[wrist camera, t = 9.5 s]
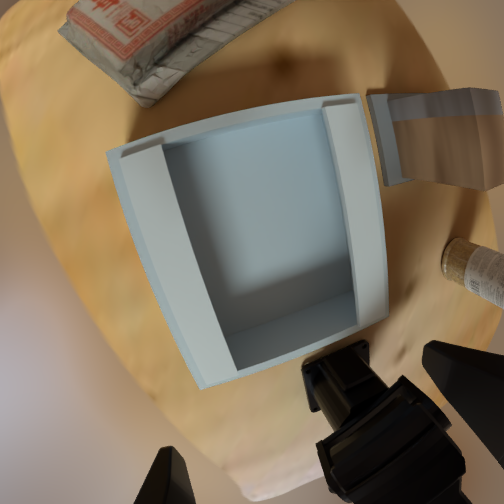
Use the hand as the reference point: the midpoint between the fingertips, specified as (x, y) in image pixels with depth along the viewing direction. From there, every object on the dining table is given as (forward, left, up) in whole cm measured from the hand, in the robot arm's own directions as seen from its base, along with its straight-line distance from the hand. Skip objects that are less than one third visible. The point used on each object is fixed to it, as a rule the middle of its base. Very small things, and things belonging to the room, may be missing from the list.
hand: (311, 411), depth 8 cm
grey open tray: (+2, -2, -12) cm, 13 cm away
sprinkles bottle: (-6, -21, -13) cm, 25 cm away
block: (+6, -16, -12) cm, 21 cm away
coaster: (+6, -16, -12) cm, 21 cm away
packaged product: (+20, -3, -13) cm, 24 cm away
